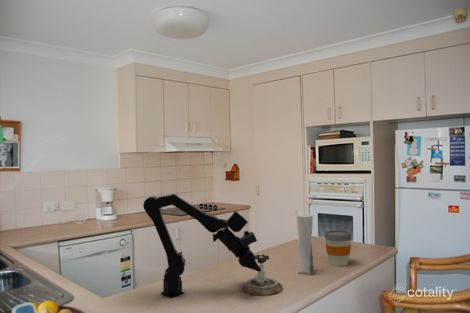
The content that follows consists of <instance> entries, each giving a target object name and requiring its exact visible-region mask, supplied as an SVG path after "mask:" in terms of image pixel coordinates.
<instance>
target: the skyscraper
mask: <svg viewBox="0 0 470 313" xmlns="http://www.w3.org/2000/svg"><path fill="white" fill-rule="evenodd" d="M298 213H300V214H299V215H298ZM295 215H296V229H297V230H296V231H297V237H298V244H297V264H298V272H297V274H298V275H305V276H307V275H308V276H314V275H315V274H316V271H317V269H314V267H315V265H314V255H313V254H314V253H313V241H312V234H313V221H314V220H313V218H314V215H313V214H311V213H308V212H307V213H303V212H301V211H300V210H295Z"/></svg>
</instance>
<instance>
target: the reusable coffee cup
mask: <svg viewBox="0 0 470 313" xmlns="http://www.w3.org/2000/svg"><path fill="white" fill-rule="evenodd" d="M324 239H325V249H326V254H327V258H328V264H329V265H331V266H335V267H336V266H337V267H344V266H348V265H349V260H350V259H349V258H350V255H351V247H352V244H351V240H352V234H351V231H347V230H346V231H345V230H327V231H325V232H324Z"/></svg>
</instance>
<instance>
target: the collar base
mask: <svg viewBox="0 0 470 313" xmlns="http://www.w3.org/2000/svg"><path fill="white" fill-rule="evenodd" d="M265 278H266V279H267V280H269V286H266V287H260V286H258V285H257V283H256V282H254V277H253V278H251V279H250V278H249V279H248V280H247V281H246V282H245V283H243V284H242V287H241V288H242V291H243V292H244V293H246V294H248V295H251V296H256V297H267V296H269V297H270V296H274V295H278V294H280V293H281V292H282V291H283V284H281V282H278V280H276V279H274V278H270V277H265Z"/></svg>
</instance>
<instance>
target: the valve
mask: <svg viewBox="0 0 470 313" xmlns="http://www.w3.org/2000/svg"><path fill="white" fill-rule="evenodd" d="M254 256H255V257H254V260H255V261H256V260H257V263H258V266H259V267H260V269H261V271H260V272H258V271H257V274H256V275H255V276H254V277H253V278H254V282H256V283H257V285H258V286H260V287H266V286H269V280H267V279H266V278H267V277H266V276H265V275H266V271H264V269H265V268H264V263H266V261H267V260H268V261H269V260H270V256H269V255H268V254H266V255H265V254H263V253H262V254H256V255H254Z"/></svg>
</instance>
